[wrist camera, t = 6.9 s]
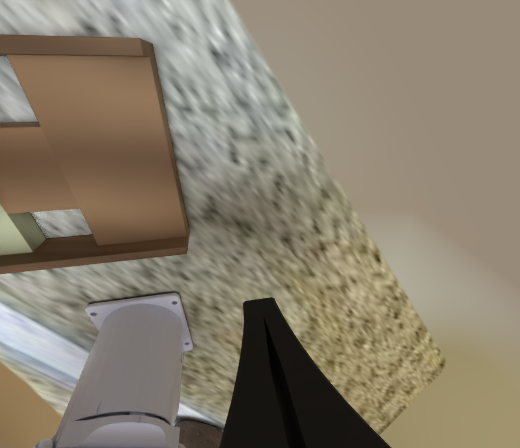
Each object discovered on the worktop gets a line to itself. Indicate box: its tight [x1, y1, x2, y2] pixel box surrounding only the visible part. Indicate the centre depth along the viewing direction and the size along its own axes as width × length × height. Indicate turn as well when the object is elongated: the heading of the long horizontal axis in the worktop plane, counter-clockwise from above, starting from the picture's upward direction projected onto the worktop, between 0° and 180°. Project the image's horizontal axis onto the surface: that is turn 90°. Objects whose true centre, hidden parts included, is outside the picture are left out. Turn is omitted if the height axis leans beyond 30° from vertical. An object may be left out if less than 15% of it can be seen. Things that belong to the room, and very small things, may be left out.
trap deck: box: [0, 35, 189, 274], centre depth 13 cm, size 12×15×4 cm
